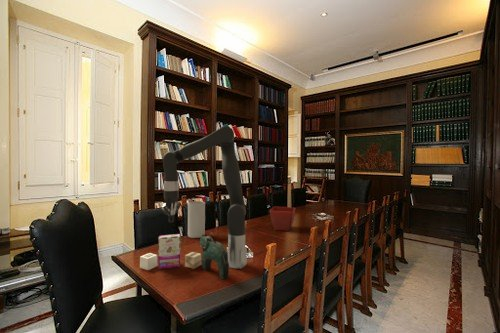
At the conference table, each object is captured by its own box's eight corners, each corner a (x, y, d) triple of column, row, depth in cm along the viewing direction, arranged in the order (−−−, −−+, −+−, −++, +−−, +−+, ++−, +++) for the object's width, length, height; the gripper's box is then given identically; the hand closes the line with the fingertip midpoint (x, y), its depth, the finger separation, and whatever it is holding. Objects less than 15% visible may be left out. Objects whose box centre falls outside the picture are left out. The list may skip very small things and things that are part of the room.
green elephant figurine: (198, 268, 130) (198, 230, 129) (208, 264, 134) (208, 228, 134) (221, 281, 116) (222, 239, 115) (232, 277, 120) (232, 236, 120)
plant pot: (269, 230, 202) (269, 210, 202) (273, 225, 220) (273, 206, 220) (292, 232, 197) (292, 211, 196) (295, 226, 215) (295, 207, 215)
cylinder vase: (202, 238, 180) (203, 204, 179) (185, 238, 180) (185, 203, 180) (206, 233, 192) (206, 201, 192) (190, 233, 193) (190, 201, 192)
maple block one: (201, 264, 134) (201, 253, 134) (193, 268, 129) (193, 257, 129) (192, 262, 137) (192, 251, 137) (184, 266, 132) (184, 255, 132)
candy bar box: (180, 263, 136) (180, 233, 135) (180, 267, 131) (180, 236, 130) (158, 265, 133) (159, 235, 132) (158, 269, 128) (158, 237, 127)
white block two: (157, 266, 132) (157, 254, 132) (147, 270, 127) (147, 258, 127) (149, 263, 135) (149, 252, 135) (139, 267, 130) (140, 256, 129)
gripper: (166, 191, 124) (166, 225, 125) (185, 188, 136) (185, 220, 136) (156, 190, 128) (156, 223, 128) (175, 188, 139) (175, 218, 140)
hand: (171, 221), depth 132 cm, fingers closed
